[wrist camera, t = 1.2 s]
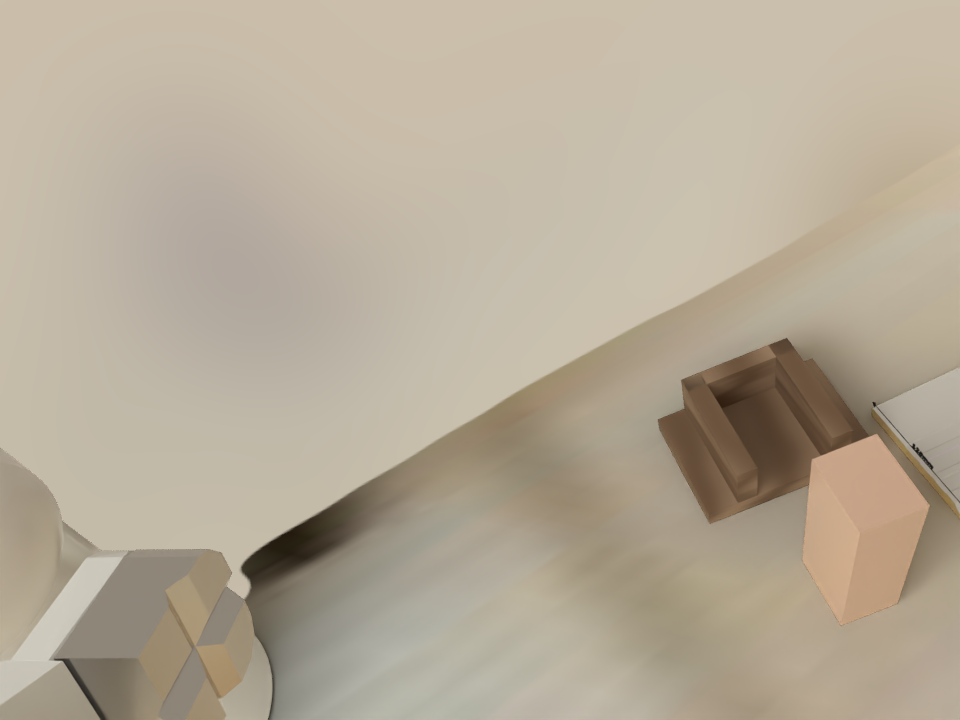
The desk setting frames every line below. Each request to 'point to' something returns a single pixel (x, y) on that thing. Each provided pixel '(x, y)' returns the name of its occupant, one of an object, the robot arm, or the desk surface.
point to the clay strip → (861, 528)
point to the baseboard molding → (929, 431)
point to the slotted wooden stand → (756, 428)
